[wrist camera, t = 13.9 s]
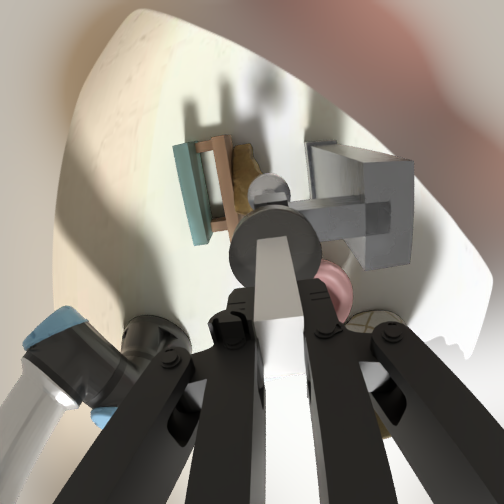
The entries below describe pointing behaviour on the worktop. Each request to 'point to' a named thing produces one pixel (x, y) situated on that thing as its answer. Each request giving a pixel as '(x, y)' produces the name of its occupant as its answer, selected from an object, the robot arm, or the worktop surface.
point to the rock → (243, 176)
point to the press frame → (357, 201)
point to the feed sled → (196, 187)
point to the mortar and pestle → (337, 287)
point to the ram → (273, 233)
